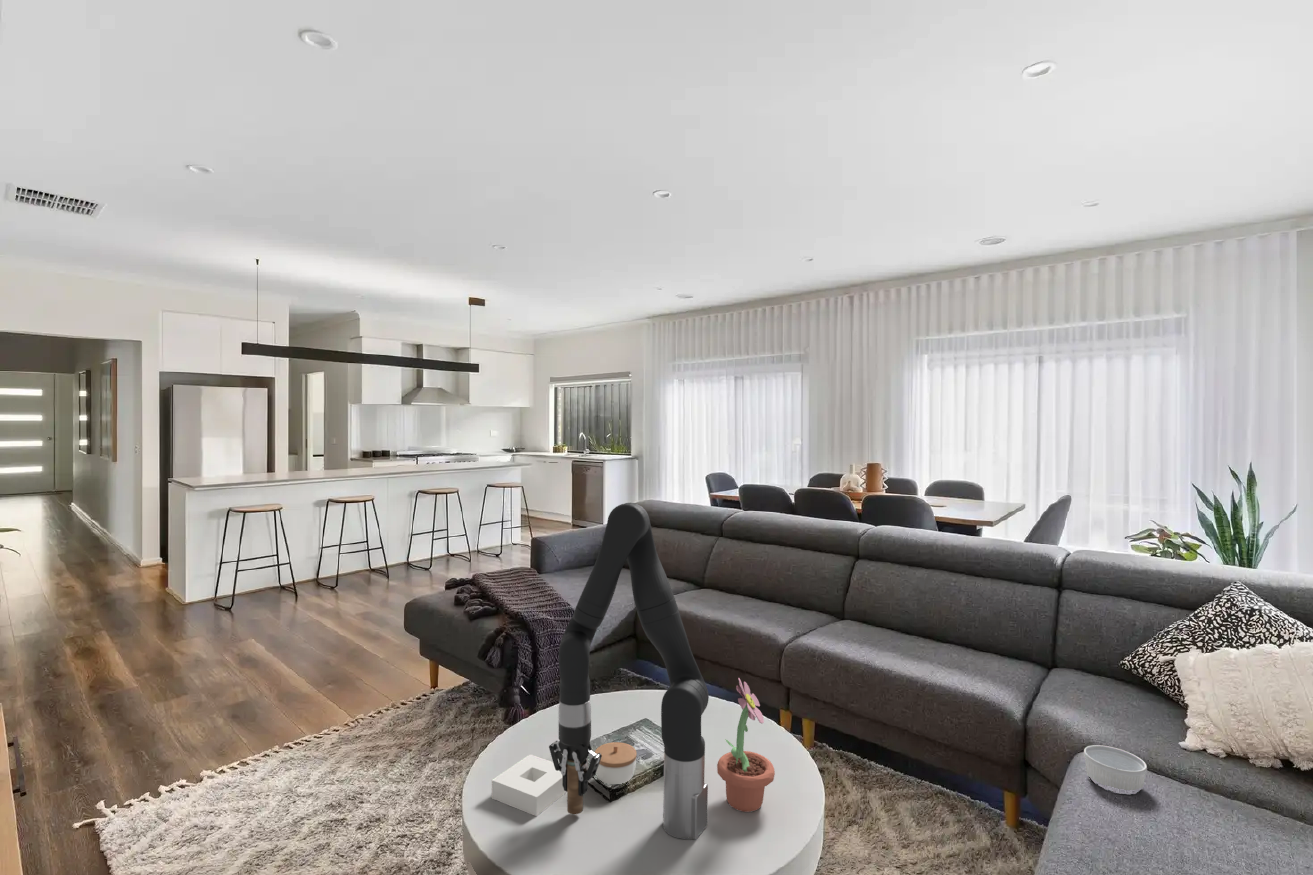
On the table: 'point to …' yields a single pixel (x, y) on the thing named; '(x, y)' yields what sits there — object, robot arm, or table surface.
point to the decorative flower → (745, 762)
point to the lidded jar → (616, 762)
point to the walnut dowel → (573, 790)
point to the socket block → (529, 785)
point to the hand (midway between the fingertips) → (575, 791)
